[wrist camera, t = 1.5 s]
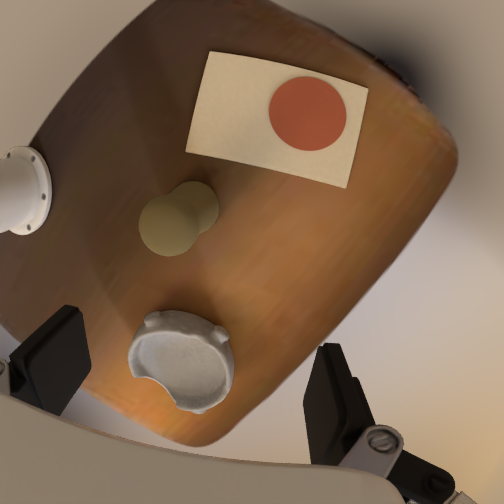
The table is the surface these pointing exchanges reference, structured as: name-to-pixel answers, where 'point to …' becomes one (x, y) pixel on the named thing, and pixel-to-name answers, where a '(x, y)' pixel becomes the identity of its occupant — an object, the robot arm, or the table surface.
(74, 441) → the robot arm
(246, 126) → the placemat
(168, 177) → the table surface
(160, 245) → the cork
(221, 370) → the dish
